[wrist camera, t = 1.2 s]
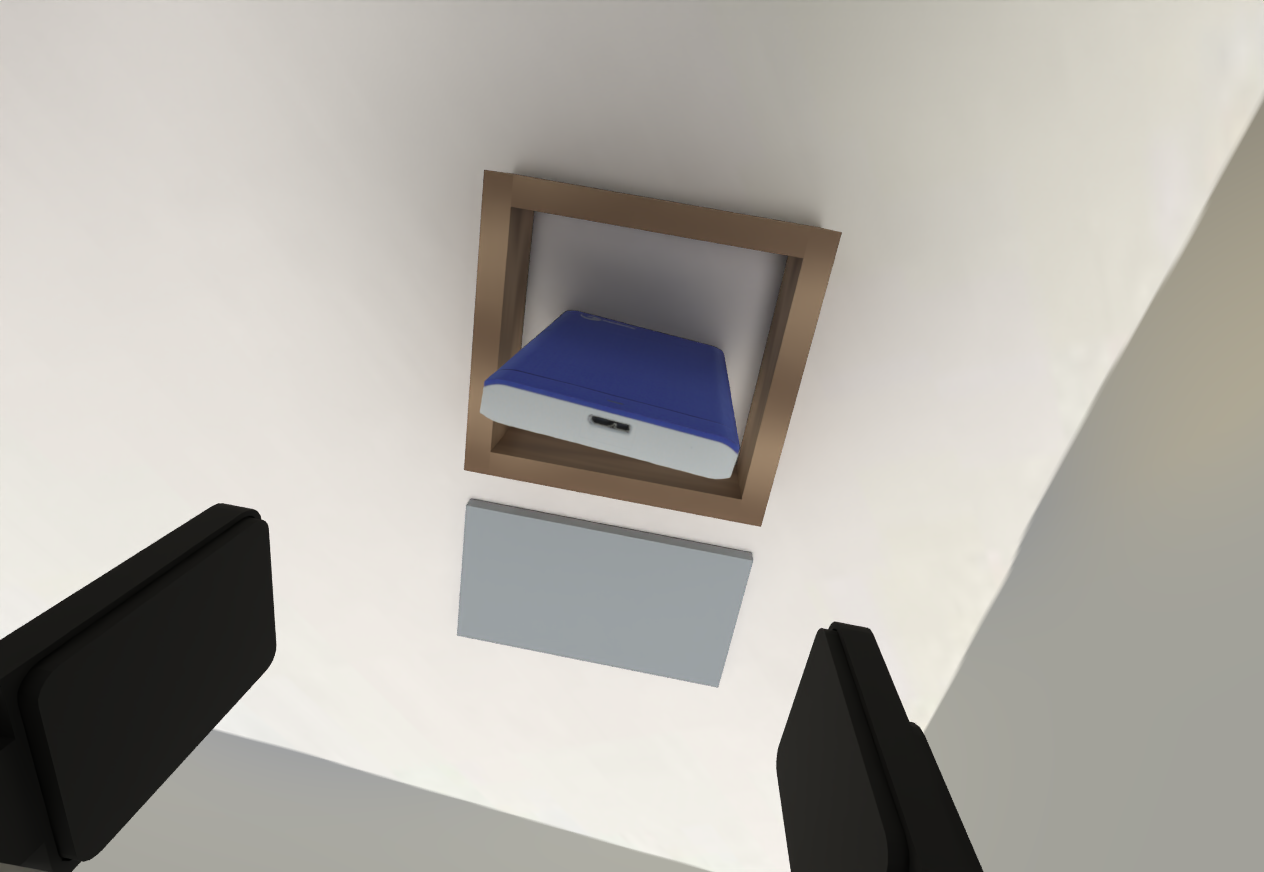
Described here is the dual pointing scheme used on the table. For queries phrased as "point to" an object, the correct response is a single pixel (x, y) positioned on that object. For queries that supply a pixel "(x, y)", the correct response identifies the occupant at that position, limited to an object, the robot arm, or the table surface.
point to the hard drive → (621, 394)
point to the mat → (599, 592)
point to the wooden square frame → (605, 471)
